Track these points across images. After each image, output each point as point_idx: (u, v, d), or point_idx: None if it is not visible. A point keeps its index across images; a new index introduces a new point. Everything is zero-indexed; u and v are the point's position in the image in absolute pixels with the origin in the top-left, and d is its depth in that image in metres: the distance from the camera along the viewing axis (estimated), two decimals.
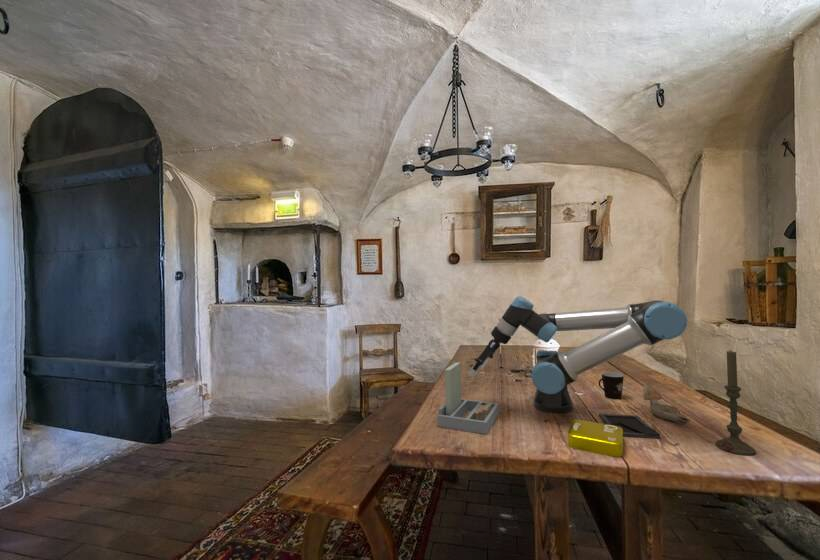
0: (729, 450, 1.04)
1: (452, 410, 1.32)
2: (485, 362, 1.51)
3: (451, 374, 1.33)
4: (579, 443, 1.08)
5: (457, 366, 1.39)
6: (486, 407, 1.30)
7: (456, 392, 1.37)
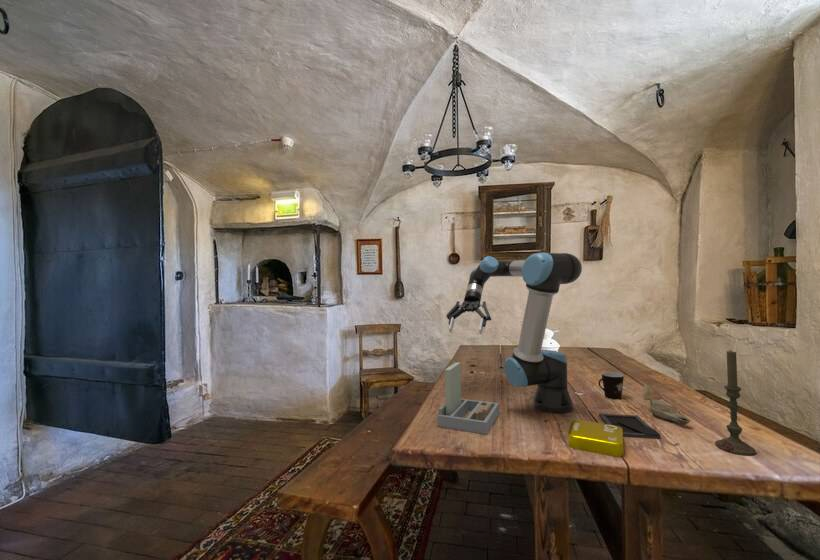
0: (729, 450, 1.04)
1: (452, 410, 1.32)
2: None
3: (451, 374, 1.33)
4: (580, 444, 1.08)
5: (457, 366, 1.39)
6: (486, 407, 1.30)
7: (456, 392, 1.37)
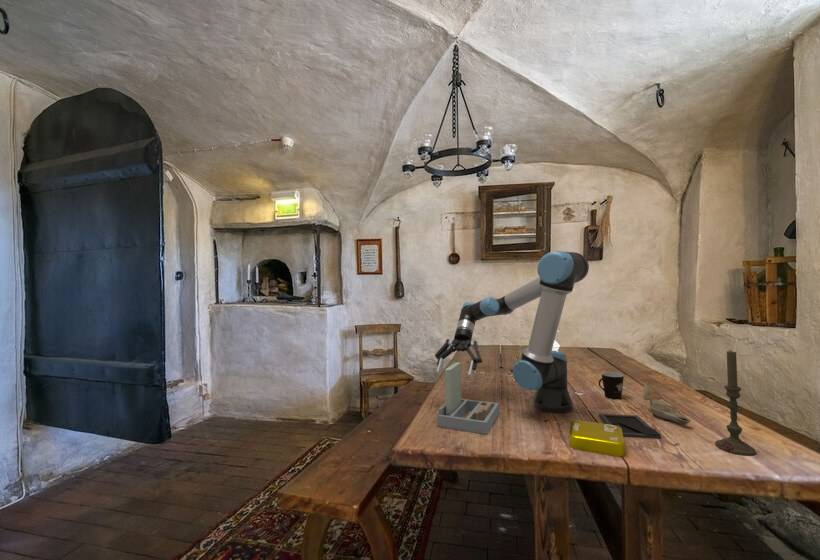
0: (729, 450, 1.04)
1: (452, 410, 1.32)
2: None
3: (451, 374, 1.33)
4: (581, 444, 1.08)
5: (457, 366, 1.39)
6: (486, 407, 1.30)
7: (456, 392, 1.37)
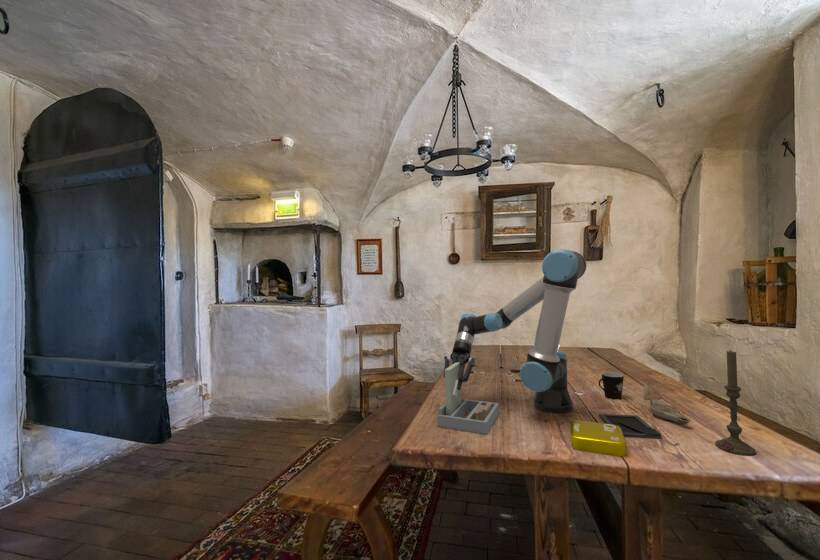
0: (729, 450, 1.04)
1: (452, 410, 1.32)
2: None
3: (451, 374, 1.33)
4: (583, 445, 1.07)
5: (457, 366, 1.39)
6: (486, 407, 1.30)
7: None
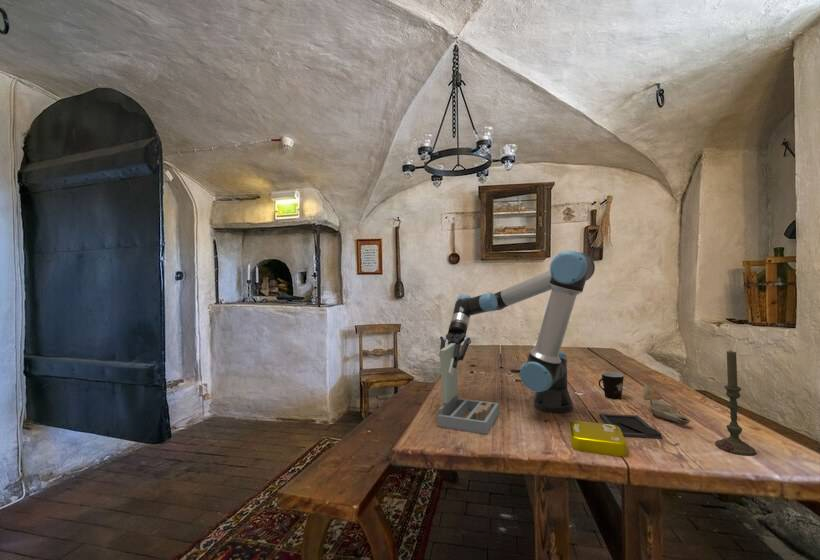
0: (729, 450, 1.04)
1: (448, 390, 1.34)
2: None
3: (446, 354, 1.33)
4: (584, 445, 1.07)
5: (452, 347, 1.40)
6: (486, 407, 1.30)
7: None
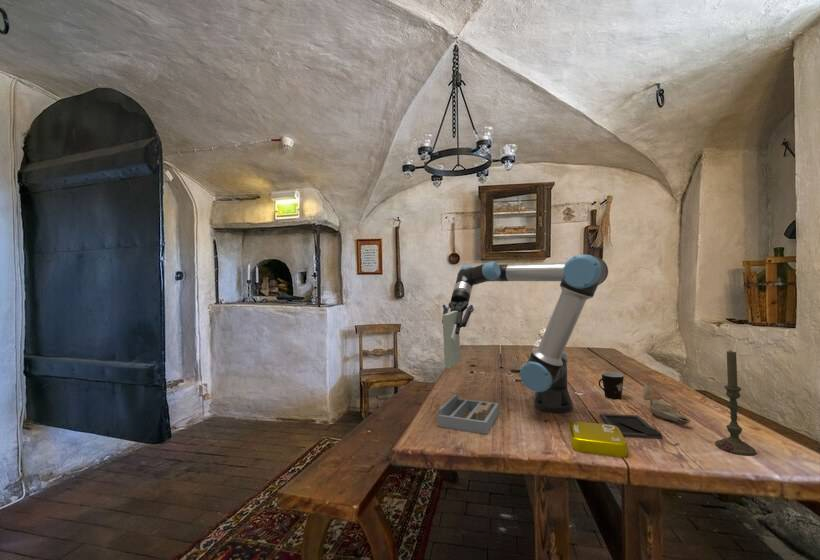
0: (729, 450, 1.04)
1: (450, 355, 1.33)
2: None
3: (449, 319, 1.33)
4: (585, 446, 1.06)
5: (455, 313, 1.39)
6: (486, 407, 1.30)
7: None
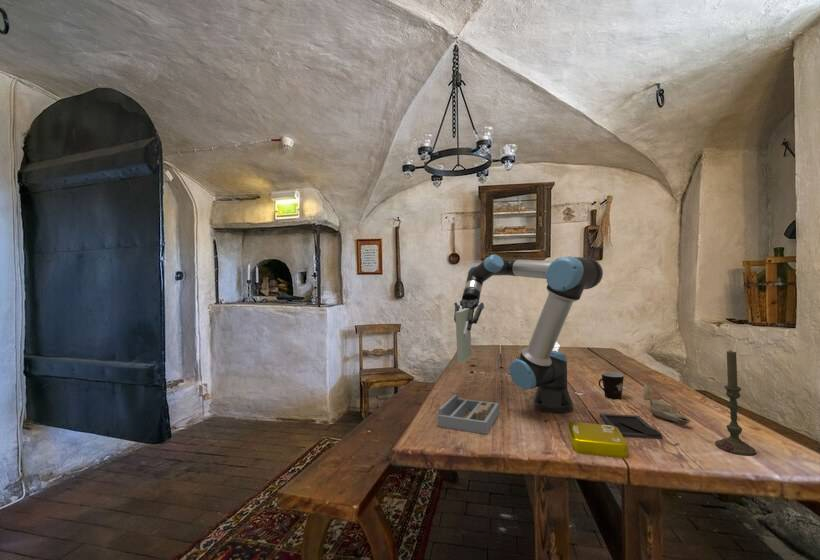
0: (729, 450, 1.04)
1: (463, 350, 1.40)
2: None
3: (461, 316, 1.40)
4: (585, 447, 1.06)
5: (466, 310, 1.46)
6: (486, 407, 1.30)
7: None
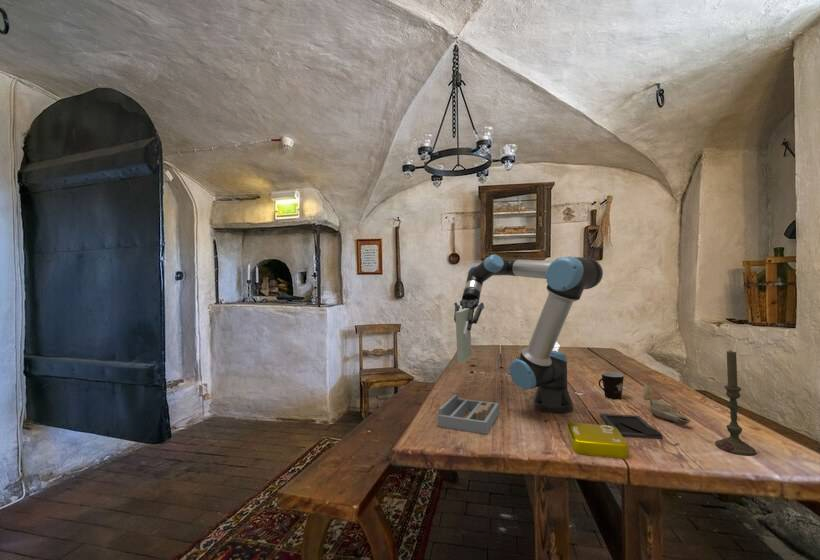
0: (729, 450, 1.04)
1: (463, 350, 1.40)
2: None
3: (461, 316, 1.40)
4: (586, 449, 1.05)
5: (466, 310, 1.46)
6: (486, 407, 1.30)
7: None
